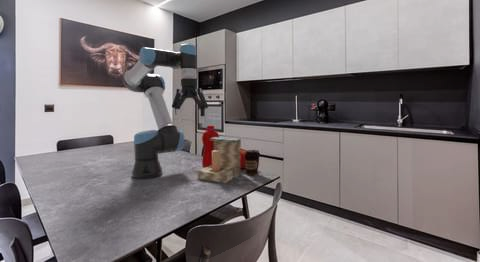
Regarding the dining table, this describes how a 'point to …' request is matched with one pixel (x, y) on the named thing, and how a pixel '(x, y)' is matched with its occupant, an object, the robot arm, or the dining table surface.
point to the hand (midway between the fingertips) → (189, 122)
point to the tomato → (243, 158)
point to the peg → (215, 161)
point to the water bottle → (208, 145)
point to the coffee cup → (252, 162)
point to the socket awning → (224, 160)
